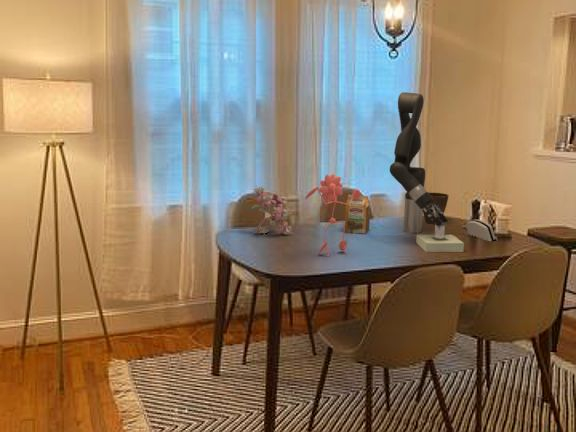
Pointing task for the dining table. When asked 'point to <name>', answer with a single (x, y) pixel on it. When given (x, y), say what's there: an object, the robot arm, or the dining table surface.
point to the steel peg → (439, 231)
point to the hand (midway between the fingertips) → (443, 223)
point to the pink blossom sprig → (331, 192)
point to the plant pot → (441, 202)
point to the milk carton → (357, 215)
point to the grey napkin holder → (480, 230)
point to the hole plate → (440, 244)
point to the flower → (277, 212)
